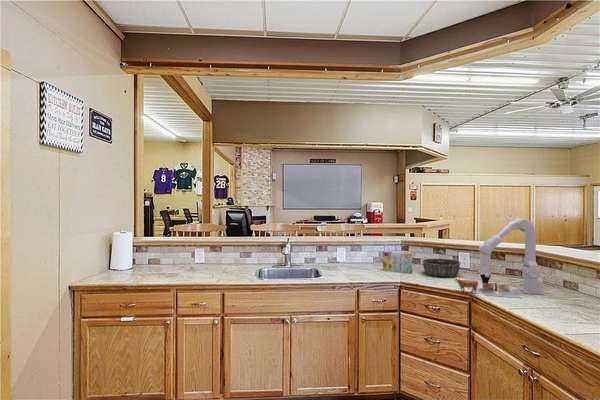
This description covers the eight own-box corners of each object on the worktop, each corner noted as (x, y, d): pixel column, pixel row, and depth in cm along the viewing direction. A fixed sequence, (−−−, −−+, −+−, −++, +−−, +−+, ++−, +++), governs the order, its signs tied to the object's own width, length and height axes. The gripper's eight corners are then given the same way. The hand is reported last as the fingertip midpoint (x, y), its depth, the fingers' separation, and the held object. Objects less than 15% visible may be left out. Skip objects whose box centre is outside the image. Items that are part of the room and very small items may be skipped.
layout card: (514, 291, 217) (514, 290, 217) (521, 298, 201) (521, 297, 201) (480, 289, 222) (480, 288, 222) (485, 295, 207) (485, 295, 207)
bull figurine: (455, 289, 222) (455, 276, 222) (479, 293, 213) (478, 279, 213) (452, 290, 218) (452, 277, 218) (477, 294, 210) (477, 280, 210)
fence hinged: (493, 290, 217) (493, 283, 217) (493, 290, 216) (493, 283, 216) (482, 289, 218) (482, 282, 218) (482, 289, 217) (482, 283, 217)
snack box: (412, 272, 274) (412, 252, 274) (410, 273, 269) (410, 253, 269) (385, 269, 285) (385, 250, 285) (382, 270, 280) (382, 251, 280)
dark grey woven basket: (461, 280, 247) (461, 265, 248) (421, 277, 257) (421, 263, 257) (460, 272, 272) (460, 259, 272) (423, 270, 282) (423, 257, 282)
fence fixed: (508, 291, 214) (508, 283, 214) (509, 292, 213) (509, 284, 213) (494, 290, 217) (494, 282, 217) (495, 291, 216) (494, 283, 216)
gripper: (476, 261, 226) (476, 283, 226) (479, 265, 212) (479, 289, 213) (488, 262, 224) (488, 284, 224) (493, 266, 210) (493, 290, 210)
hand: (485, 286), depth 218 cm, fingers closed, pressing on fence hinged
